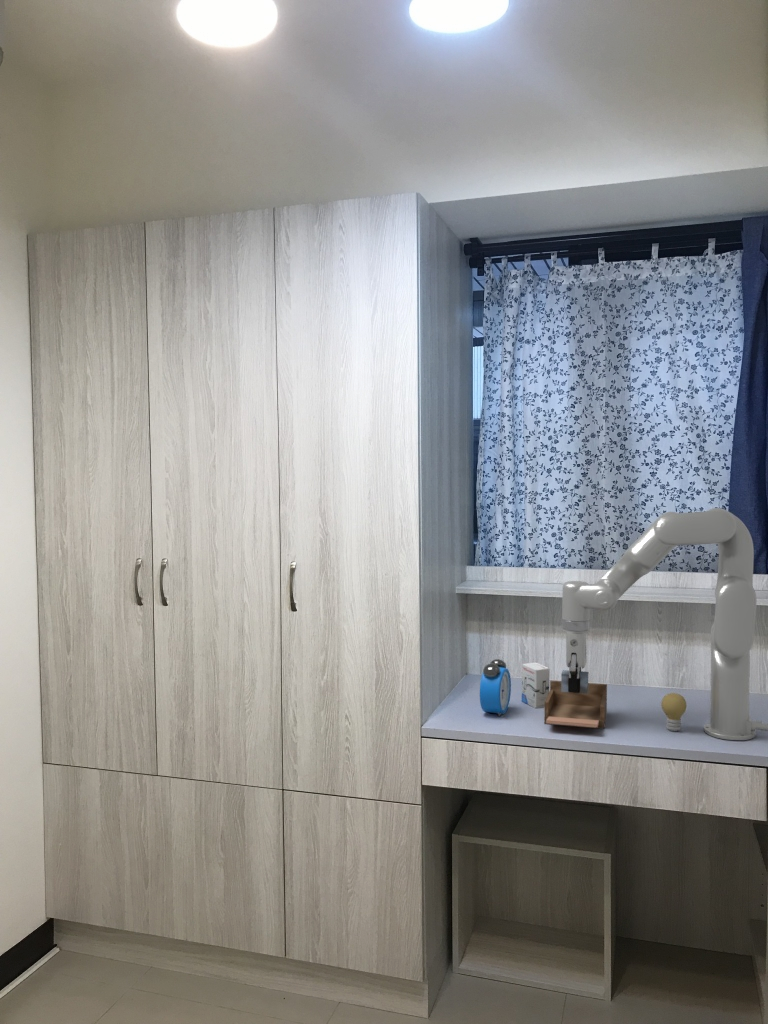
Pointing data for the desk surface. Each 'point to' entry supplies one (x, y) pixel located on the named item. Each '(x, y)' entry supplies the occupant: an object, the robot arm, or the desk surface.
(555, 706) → the brown open box
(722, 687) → the robot arm
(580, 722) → the panel
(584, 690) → the blue gray block
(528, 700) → the ink box
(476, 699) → the desk surface
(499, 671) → the alarm clock
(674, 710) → the light bulb
